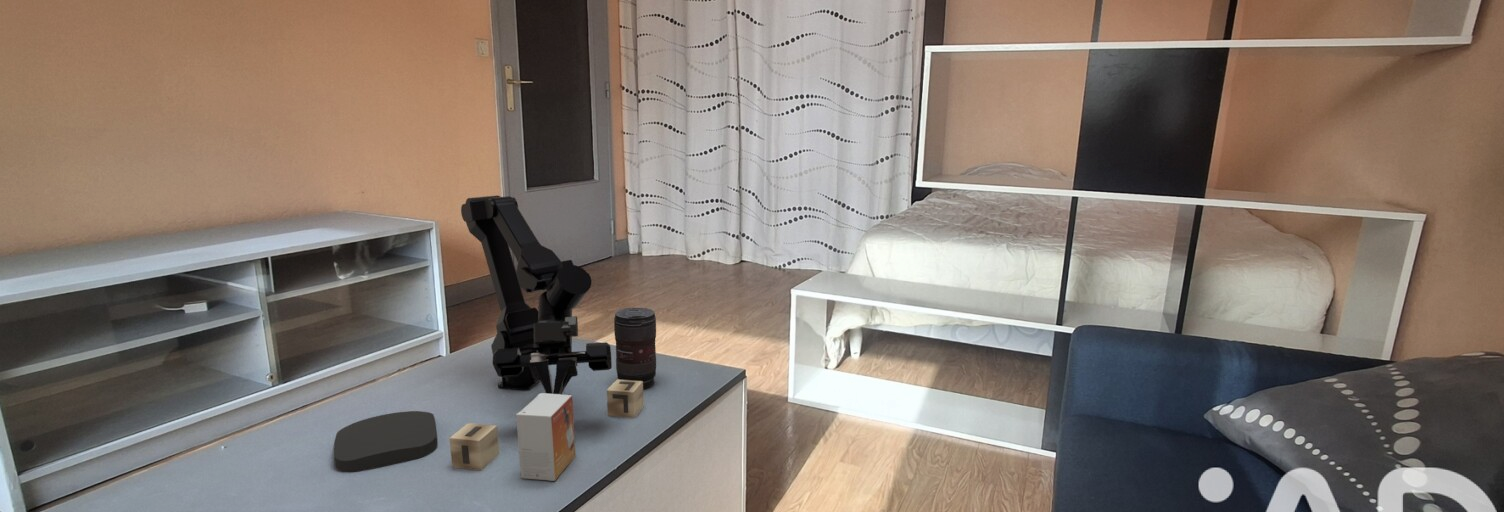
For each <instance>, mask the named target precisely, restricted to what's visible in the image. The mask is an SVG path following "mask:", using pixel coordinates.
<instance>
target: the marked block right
mask: <svg viewBox="0 0 1504 512" xmlns="http://www.w3.org/2000/svg"><path fill="white" fill-rule="evenodd" d="M606 405H607V416H608V417H619V418H628V419H635V418H636V416H637V415H638V414H639V413H640V411H642V409H643V408H644V405H645V404H644V389H643V381H632V380H620V379H618V378H617V379H616V380H614V382H613V383H612V384H611V385H610V386H609V387H608V388H607V389H606Z"/></svg>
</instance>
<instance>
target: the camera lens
mask: <svg viewBox="0 0 1504 512" xmlns="http://www.w3.org/2000/svg"><path fill="white" fill-rule="evenodd" d="M656 318H657V317H656V314H655V311H654V310H653V309H651V308H647V307H629V308H628V307H627V308H622V309H619V310H617V311H616V312H615V314H614V318H613V322H614V323H613V325H614V327H613V328H614V332H613V333H614V341H615V354H616V355H615V369H616V374H617V375H616V376H617V377H616V378H617V379H620V380H632V381H643V390H646V389H648V388H650V387H652V386H653V385H654V383H655V377H656V375H657V372H656V370H657V353H656V352H657V351H656V339H657V338H656V337H657V319H656Z"/></svg>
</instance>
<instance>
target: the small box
mask: <svg viewBox="0 0 1504 512" xmlns="http://www.w3.org/2000/svg"><path fill="white" fill-rule="evenodd" d="M573 401H574V400H573V395H570V394H563V393H562V394H548V393H546V392H545V393H544V392H541V393H540V392H539V393H538V394H537V396H535V398H533V399H532V400H531V401H530V402H529V403H528V404H527V405H526V406H525V407H524V408H522V409H521V410H520V411H519V412H517V413H516V414H515V419H516V429H517V431H516V432H517V433H516V434H517V443H518V444H517V445H518V456H519V458H518V459H519V468H520V478H521V479H526V480H539V481H550V482H551V481H552V482H555V481H557V479H558V478H559V476H560V475H561V474H562V472H563V471H564V470H565V469H566V468H567V466H568V465H569V464H570V463H571V462H572V461H573V460H574V459H575V457H576V440H575V438H576V437H575V423H574V421H575V420H574V402H573Z"/></svg>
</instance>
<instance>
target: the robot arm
mask: <svg viewBox="0 0 1504 512" xmlns="http://www.w3.org/2000/svg"><path fill="white" fill-rule="evenodd" d="M460 214H461V218H462V220H463V221H464V223H465V224H466V227H467V228H468V229H467V230H468V232H469V233H470V234H471V235H472V236H473V237H474V238H475V239H476V240H478V241H479V242H480V243H481V246H482V250H483V254H484V257H485V260H486V263H487V267H488V271H489V275H490V277H491V281H492V285H493V289H494V291H495V296H496V299H497V302H498V305H499V306H498V307H499V309H500V311H499V316H498V319H497V322H496V326H495V328H496V335H495V337H494V340H493V341H492V343H491V346H490V347H491V353H492V366H493V369H494V370H495V373H496V375H497V376H498V377H501V382H500V383H499V384H497V388H498V389H505V390H518V391H519V390H521V391H528V390H530V389H531V388H533V387H534V386H535V385H536V384H537V383H538V382H540V383H541V385H542V387H543V389H544V391H545V393H548V394H562V395H563V394H564V391H565V389H566V387H567V385H568V383H569V382H570V380H571V379H572V378H574V377H578V368H577V367H578V365H579V364H583V363H584V364H586V363H588V368H589V369H590V370H591V371H593V372H596V371H609V370H611V369H612V368H613V367H612V366H613V365H612V351H611V350H612V349H611V345H610V344H609V343H608V342H606V341H603V342H590V343H589V342H588V343H586V345H585V350H582V351H581V350H579V351H573V337H578V336H579V323H578V316H577V315H576V316H573V309H575V308H576V307H578V306H579V304H580V303H581V301H582V300H583V298H584V297H585V296H586V294H587V293H588V292H589V290H590V289H591V286H592V278H591V275H590V273H588V272H587V270H585V268H583V267H580V266H578V265H575V264H574V263H573V260H572V259H567V260H562V261H561V259H560V258H559V257H558V254H557V255H556V253H555V252H554V251H553V250H552V249H550V248H548V247H546V246H544V245H542V244H541V243H540V242H539V240H538V238H537V237H536V235H535V234H534V232H533V230H532V229H531V226H529V224H528V222H527V221H526V218H525V217H524V216H523V214H522V212H521V211H520V210H519V204H518V201H517V199H516V198H515V197H514V196H501V195H487V196H477V197H468V198H466V199H465V203H462V204H461V207H460ZM512 254H513V255H514V257H515V259H516V261H517V266H515V262H514V260H513V257H512V256H513V255H512ZM522 289H523V290H524V291H525V292H526V293H536V292H542V291H544V292H542V293H541V294H540V296H538V307H537V308H538V309H537V308H536V307H535V306H534V307H531V306H530V305H529V304H527V303H526V300H525V298H524V294H523V291H522ZM554 365H555V379H554V384H553V379H552V372H551V370H550V366H554ZM553 385H554V386H553Z"/></svg>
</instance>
